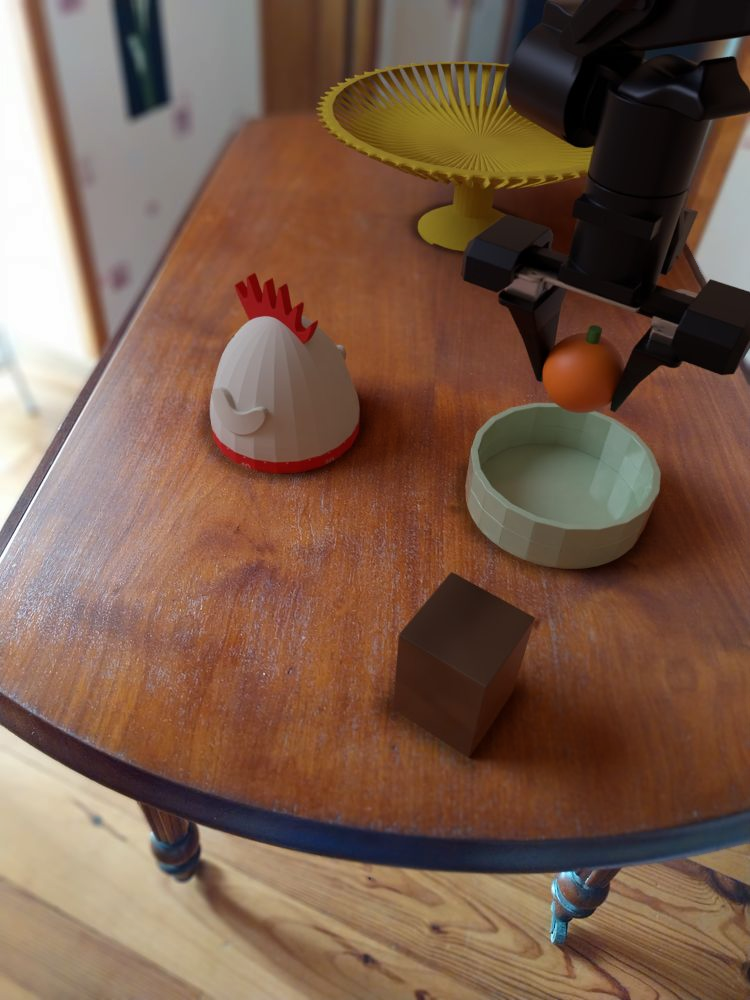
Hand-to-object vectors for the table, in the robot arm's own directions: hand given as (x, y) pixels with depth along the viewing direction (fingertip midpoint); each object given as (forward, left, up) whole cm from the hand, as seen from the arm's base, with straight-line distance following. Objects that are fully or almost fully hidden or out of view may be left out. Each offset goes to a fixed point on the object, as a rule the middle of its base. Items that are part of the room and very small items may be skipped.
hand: (578, 393), depth 54 cm
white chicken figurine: (+25, +4, -13) cm, 29 cm away
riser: (-3, +20, -13) cm, 24 cm away
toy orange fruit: (0, 0, -1) cm, 1 cm away
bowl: (0, -2, -13) cm, 13 cm away
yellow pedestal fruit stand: (+32, -42, -13) cm, 54 cm away
